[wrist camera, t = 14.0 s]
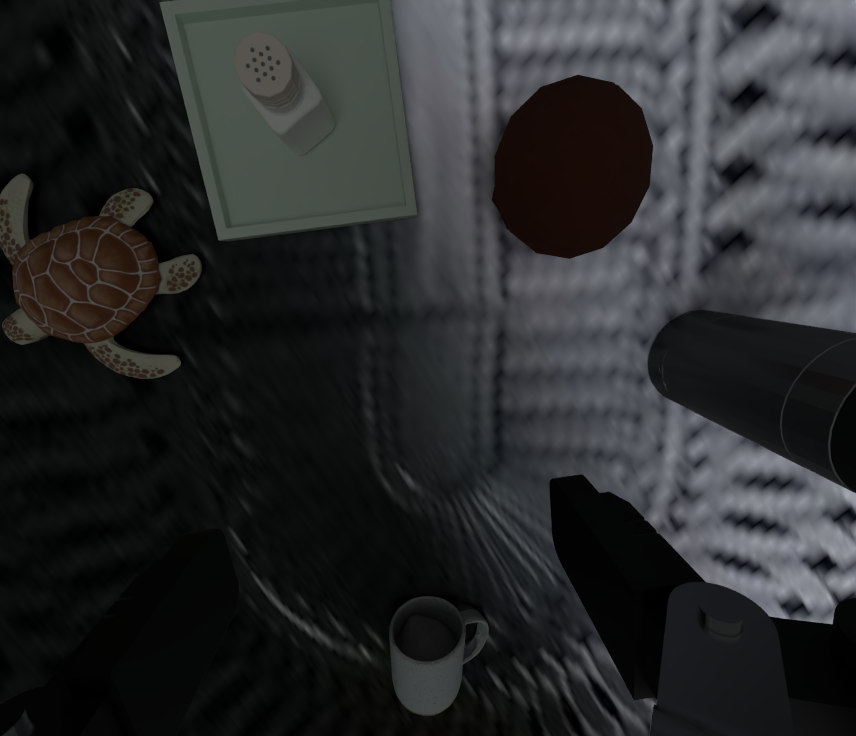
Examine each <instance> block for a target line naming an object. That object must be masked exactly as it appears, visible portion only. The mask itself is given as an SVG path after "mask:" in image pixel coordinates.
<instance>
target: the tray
mask: <svg viewBox="0 0 856 736" xmlns="http://www.w3.org/2000/svg"><path fill="white" fill-rule="evenodd" d="M160 6H161V10H162V14H163V18H164V22H165V26H166V30H167V34H168V38H169V42H170V46H171V50H172V54H173V58H174V62H175V66H176V70H177V74H178V78H179V82H180V86H181V90H182V94H183V99H184V103H185V107H186V111H187V115H188V119H189V123H190V127H191V131H192V135H193V139H194V143H195V147H196V151H197V155H198V159H199V163H200V167H201V171H202V175H203V179H204V183H205V187H206V191H207V195H208V199H209V203H210V207H211V211H212V215H213V219H214V223H215V227H216V231H217V236H218V240H221V241H236V240H243V239H251V238H259V237H266V236H274V235H282V234H290V233H297V232H305V231H313V230H321V229H328V228H336V227H344V226H351V225H359V224H367V223H375V222H382V221H390V220H398V219H406V218H413V217H417V209H416V201H415V193H414V185H413V177H412V170H411V162H410V154H409V146H408V138H407V130H406V122H405V115H404V107H403V99H402V91H401V83H400V75H399V67H398V59H397V52H396V44H395V36H394V28H393V20H392V12H391V4H390V0H176V1H167V2H160ZM256 31H258V32H263V33H269V34H273V35H274V36H275V37H276V38H277V39H279V40H280V41H281V42H282V43H283V44H284V45H285V46H286V47H287V48H289V49H290V50H291V51H292V52H293V54H294V55H295V56H296V58H297V59H298V60H299V62H300V63H301V64H302V66H303V67H304V69H305V70H306V71H307V73H308V74H309V76H310V77H311V78H312V80H313V81H314V83H315V84H316V86H317V87H318V88H319V90H320V92H321V94H322V96H323V98H324V100H325V102H326V105H327V107H328V109H329V111H330V113H331V115H332V117H333V120H334V124H335V126H334V128H333V131H332V132H330V133H329V134H328V135H327V136H326V137H325V138H323V139H322V140H321V141H320V142H319V143H318V144H316V145H315V146H314V147H313V148H312V149H310V150H309V151H308V152H307V153H306V154H304V155H300V156H298V155H297V154H295V153H294V152H293V151H292V150H291V149H290V148H289V147H288V146H287V145H286V144H285V143H284V142H283V141H282V140H281V139H280V138H279V137H278V136H277V135H276V134H275V133H274V132H273V130H272V129H271V128H270V127H269V125H268V124H267V123H266V121H265V120H264V119H263V118H262V116H261V115H260V114H259V112H258V111H257V110H256V108H255V107H254V106H253V105H252V103H251V102H250V101H249V99H248V98H247V97H246V95H245V94H244V93H243V90H242V87H241V81H240V79H239V77H238V75H237V72H236V70H235V50H236V48H237V47H238V45H239V43H240V42H241V40H242V38H243V37H245V36H247V35H249V34H252V33H254V32H256Z"/></svg>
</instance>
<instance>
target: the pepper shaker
mask: <svg viewBox="0 0 856 736" xmlns="http://www.w3.org/2000/svg"><path fill="white" fill-rule="evenodd" d="M235 70H236V72H237V75H238V77H239V79H240V81H241V87H242V90H243V93H244V94H245V95H246V97H247V98H248V99H249V101H250V102H251V103H252V105H253V106H254V107H255V108H256V110H257V111H258V112H259V114H260V115H261V116H262V118H263V119H264V120H265V121H266V123H267V124H268V125H269V127H270V128H271V129H272V130H273V132H274V133H275V134H276V135H277V136H278V137H279V138H280V139H281V140H282V141H283V142H284V143H285V144H286V145H287V146H288V147H289V148H290V149H291V150H292V151H293V152H294V153H295V154H297V155H298V156H300V155H304V154H306V153H307V152H308V151H309V150H310V149H312V148H313V147H314V146H315V145H316V144H318V143H319V142H320V141H321V140H322V139H323V138H325V137H326V136H327V135H328V134H329V133H330V132H332V131H333V128H334V126H335V124H334V120H333V117H332V115H331V113H330V111H329V109H328V107H327V105H326V102H325V100H324V98H323V96H322V94H321V92H320V90H319V88H318V87H317V86H316V84H315V83H314V81H313V80H312V78H311V77H310V76H309V74H308V73H307V71H306V70H305V69H304V67H303V66H302V64H301V63H300V62H299V60H298V59H297V58H296V56H295V55H294V54H293V52H292V51H291V50H290V49H289V48H287V47H286V46H285V45H284V44H283V43H282V42H281V41H280V40H279V39H277V38H276V37H275V36H274V35H273V34H269V33H263V32H258V31H256V32H254V33H252V34H249V35H247V36H245V37H243V38H242V40H241V42H240V43H239V45H238V47H237V48H236V50H235Z"/></svg>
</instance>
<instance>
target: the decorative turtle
mask: <svg viewBox="0 0 856 736" xmlns="http://www.w3.org/2000/svg"><path fill="white" fill-rule="evenodd" d="M33 187H34V185H33V182H32V181H31V179H30V178H29V177H28V176H26V175H25V174H19V175H17V176H16V177H15V178H13V179H12V180H11V181H10V182H9V183H8V184H7V186H6V187H5V188H4V189H3V191H2V193H1V195H0V246H1V248H2V250H3V251H4V253H5V255H6V257H7V258H8V259H9V261H10V262H11V264H12V265H13V286H14V293H15V298H16V302H17V304H18V305H19V306H20V307H21V308H20V309H19V310H17V311H16V312H14V313H13V314H11V315H10V316H9V317H8V318H7V319H5V320H4V322H3V324H2V327H3V330H4V332H5V333H6V335H7V336H8V338H9V339H11V340H12V341H14V342H16V343H18V344H22V345H24V344H28V343H32V342H36V341H39V340H42V339H44V338H46V337H48V336H50V335H51V336H55V337H59V338H62V339H66V340H69V341H74V342H79V343H84V344H85V345H86V347H87V348H88V350H89V351H90V353H91V354H92V355H94V356H95V357H96V358H97V359H98V360H99V361H100V362H102V363H103V364H104V365H106V366H107V367H109V368H110V369H112V370H114V371H115V372H118V373H120V374H123V375H125V376H130V377H136V378H140V379H146V378H157V377H161V376H164V375H167V374H169V373H171V372H172V371H174V370H175V369H177V368H178V367H179V366H180V365H181V361H180V359H179V358H178V357H177V356H175V355H167V354H166V355H156V354H148V353H142V352H138V351H134V350H131V349H127V348H125V347H123V346H121V345H119V344H118V343H117V342H116V341H114V336H115V335H117V334H118V333H120V332H121V331H123V330H124V329H126V327H127V326H128V325H129V324H130V323H131V322H132V321H134V320H135V319H136V318H137V317H138V315H139V314H140V313H141V312H142V311H144V310H145V309H146V307H147V305H148V303H149V302H150V301H151V300H152V299H153V297H154V295H156V294H172V293H179V292H182V291H184V290H187V289H188V288H189V287H191V286H192V285H193V284H194V283H195V282H196V281H197V280H198V278H199V277H200V275H201V271H202V264H201V261H200V259H199V258H198V257H197V256H195V255H194V254H190V255H183V256H180V257H177V258H174V259H172V260H170V261H166V262H162V263H159V262H158V258H157V254H156V252H155V249H154V247H153V246H152V243H151V242H149V241H148V240H147V238H146V237H145V236H144V235H143V234H141V233H140V232H139V231H137V230H134V229H133V228H132V226H133V225H134V224H135V223H136V222H137V220H138V219H139V218H141V217H142V216H143V215H144V214H145V213H146V212H147V211H148V210H149V209H150V207H151V205H152V204H153V198H152V196H151V195H150V194H149V193H147V192H146V191H143V190H141V189H137V188H131V189H127V190H124V191H121V192H119V193H117V194H115V195H113V196H112V197H111V198H110V199H109V200H108V201H107V202H106V204H105V206H104V207H103V209H102V211H101V213H100V215H99V216H93V217H83V218H82V219H81V220H73V221H70V222H69V223H67V224H64V225H59V226H56V227H54V228H53V229H52V231H50V232H47V233H41V234H40V235H38V236H37V237H35V238H34V239H31V240H30V239H29V233H28V205H29V199H30V196H31V193H32V190H33Z"/></svg>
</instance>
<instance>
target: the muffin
mask: <svg viewBox="0 0 856 736" xmlns="http://www.w3.org/2000/svg"><path fill="white" fill-rule="evenodd" d="M652 151H653V144H652V140H651V137H650V134H649V131H648V127H647V124H646V121H645V118H644V114H643V111H642V108H641V107H640V106H639V105H638V104H637V103H636V102H635V101H634V100H633V99H632V98H631V97H630V96H629V95H628V94H627V93H626V92H625V91H624V90H622V89H621V88H620V87H619V86H618V85H616V84H615V83H613V82H608V81H604V80H599V79H595V78H590V77H586V76H581V75H576V76H573V77H570V78H567V79H564V80H561V81H558V82H555V83H552V84H549V85H546V86H543V87H540V88H539V89H538V90H537V91H536V92H535V93H534V94H533V95H532V96H531V97H530V98H529V99H528V100H527V101H526V102H525V103H524V104H523V105H522V106H521V107H520V108H519V109H518V110H517V111H516V112H515V113H514V114H513V115H512V116H511V118H510V120H509V123H508V125H507V127H506V130H505V132H504V135H503V137H502V140H501V142H500V144H499V147H498V149H497V152H496V154H495V187H494V192H493V197H492V201H493V203H494V204H495V206H496V207H497V209H498V210H499V212H500V213H501V215H502V218H503V220H504V223H505V225H506V227H507V229H508V230H510V232H511V233H513V234H514V235H515V236H516V237H517V238H519V239H520V240H521V241H522V242H524V243H525V244H526V245H527V246H529V247H530V248H531V249H532V250H534V251H535V252H536V253H540V254H546V255H552V256H558V257H563V258H569V259H570V258H573V257H576V256H579V255H582V254H585V253H589V252H592V251H595V250H598V249H601V248H604V247H605V246H606V245H607V244H608V243H609V242H610V241H611V240H612V239H613V238H615V237H616V236H617V235H618V234H619V233H620V232H621V231H622V230H623V229H625V228H626V227H627V226H628V225H629V224H630V223H631V222H632V220H633V218H634V216H635V214H636V212H637V210H638V208H639V206H640V204H641V202H642V200H643V198H644V196H645V194H646V192H647V190H648V188H649V185H650V174H651V163H652Z"/></svg>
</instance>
